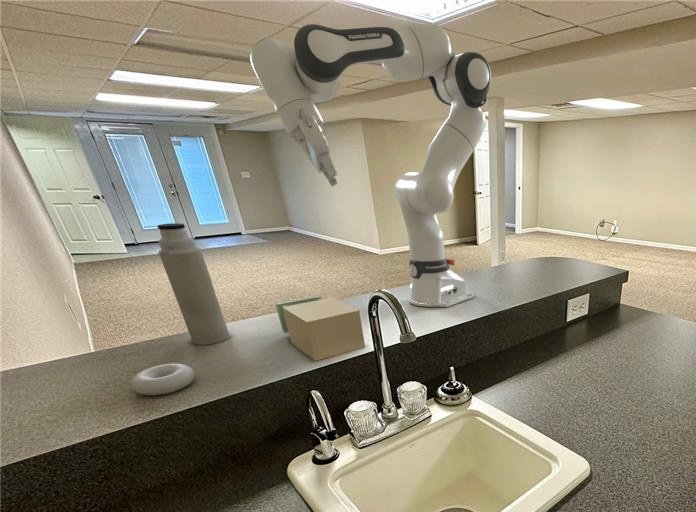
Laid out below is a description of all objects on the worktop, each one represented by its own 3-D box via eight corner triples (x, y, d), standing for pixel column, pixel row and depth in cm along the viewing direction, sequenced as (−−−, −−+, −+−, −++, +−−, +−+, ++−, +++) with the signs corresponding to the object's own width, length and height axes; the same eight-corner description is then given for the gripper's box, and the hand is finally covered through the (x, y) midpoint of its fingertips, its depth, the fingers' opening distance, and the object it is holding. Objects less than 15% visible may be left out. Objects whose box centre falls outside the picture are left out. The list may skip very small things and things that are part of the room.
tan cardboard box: (291, 343, 103) (282, 307, 99) (339, 331, 111) (332, 297, 107) (315, 360, 94) (306, 322, 90) (365, 346, 102) (359, 310, 98)
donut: (204, 385, 83) (187, 370, 89) (198, 371, 81) (182, 356, 87) (143, 404, 76) (129, 386, 82) (135, 389, 75) (122, 371, 80)
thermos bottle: (208, 332, 108) (169, 221, 95) (236, 334, 108) (200, 222, 94) (184, 343, 101) (138, 225, 88) (214, 345, 101) (172, 226, 87)
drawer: (276, 327, 110) (269, 299, 106) (318, 318, 117) (312, 292, 114) (302, 346, 99) (295, 316, 96) (347, 335, 107) (341, 306, 103)
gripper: (312, 99, 89) (346, 164, 94) (317, 131, 107) (345, 185, 112) (284, 109, 87) (320, 174, 92) (294, 140, 106) (324, 193, 111)
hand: (334, 180), depth 103 cm, fingers open, 8 cm apart
